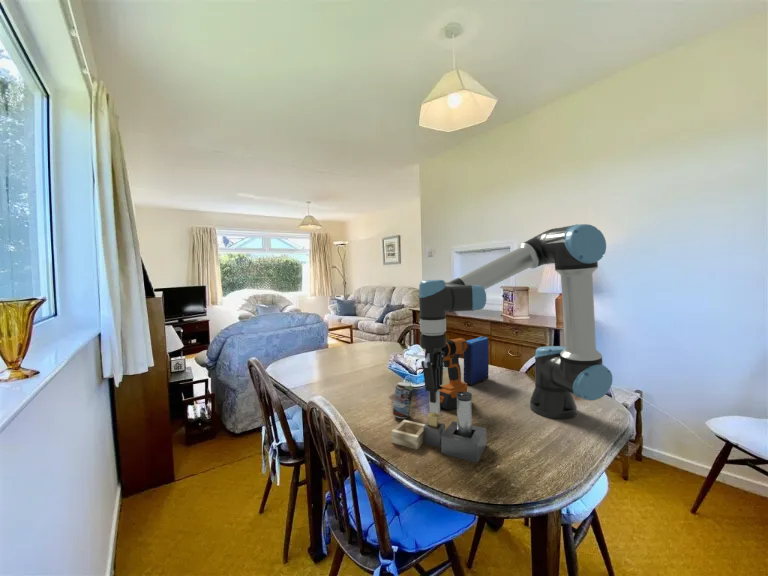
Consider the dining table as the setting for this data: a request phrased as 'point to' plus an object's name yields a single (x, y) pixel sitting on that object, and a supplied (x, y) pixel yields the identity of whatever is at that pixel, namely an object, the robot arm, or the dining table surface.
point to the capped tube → (464, 414)
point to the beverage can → (402, 400)
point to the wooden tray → (408, 434)
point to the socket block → (456, 441)
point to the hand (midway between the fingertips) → (434, 411)
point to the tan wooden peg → (434, 419)
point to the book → (476, 360)
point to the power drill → (453, 372)
